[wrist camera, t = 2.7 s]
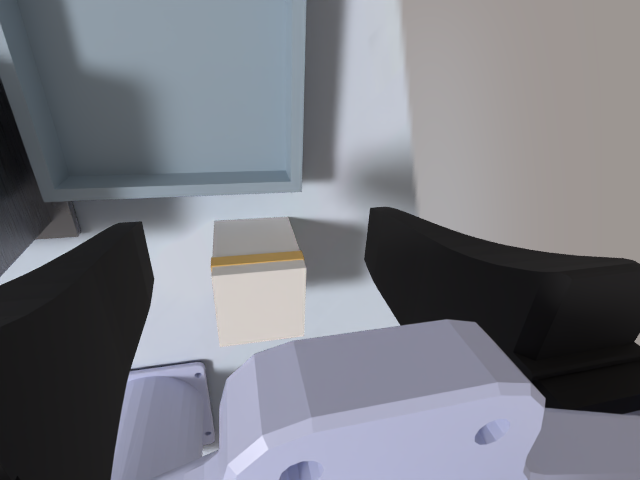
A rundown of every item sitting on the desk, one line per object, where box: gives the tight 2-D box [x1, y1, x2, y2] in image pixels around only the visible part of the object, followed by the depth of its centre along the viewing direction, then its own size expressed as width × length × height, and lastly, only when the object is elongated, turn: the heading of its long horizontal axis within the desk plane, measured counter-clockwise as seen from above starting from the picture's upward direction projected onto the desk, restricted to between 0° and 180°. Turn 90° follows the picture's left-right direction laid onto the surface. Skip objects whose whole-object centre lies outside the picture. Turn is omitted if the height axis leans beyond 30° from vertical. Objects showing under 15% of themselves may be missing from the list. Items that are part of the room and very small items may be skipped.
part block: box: [211, 217, 306, 347], centre depth 21 cm, size 5×5×6 cm
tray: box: [0, 0, 306, 202], centre depth 16 cm, size 12×12×2 cm
